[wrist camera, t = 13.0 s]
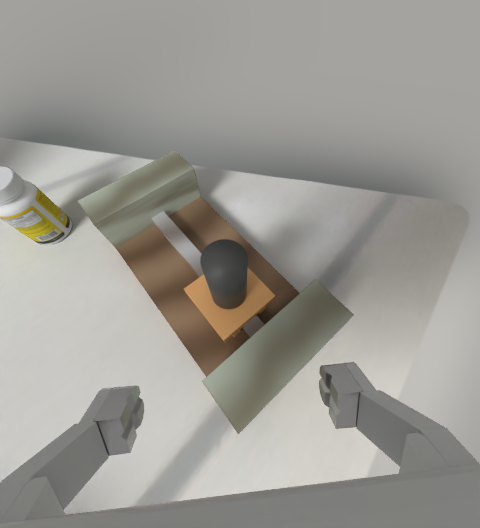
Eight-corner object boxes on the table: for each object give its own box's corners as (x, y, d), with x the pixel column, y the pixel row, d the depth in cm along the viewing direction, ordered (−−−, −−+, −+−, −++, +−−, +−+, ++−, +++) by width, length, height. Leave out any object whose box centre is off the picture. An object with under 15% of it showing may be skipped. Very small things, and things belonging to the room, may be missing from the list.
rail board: (107, 233, 30) (77, 200, 24) (185, 188, 33) (174, 150, 28) (239, 421, 20) (238, 434, 15) (329, 330, 24) (354, 314, 18)
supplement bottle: (50, 212, 31) (-10, 158, 24) (80, 220, 31) (28, 167, 23) (26, 241, 29) (-49, 192, 22) (58, 250, 29) (-8, 203, 21)
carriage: (188, 297, 24) (162, 254, 16) (234, 263, 25) (230, 209, 18) (225, 344, 22) (215, 322, 14) (272, 303, 23) (287, 263, 15)
